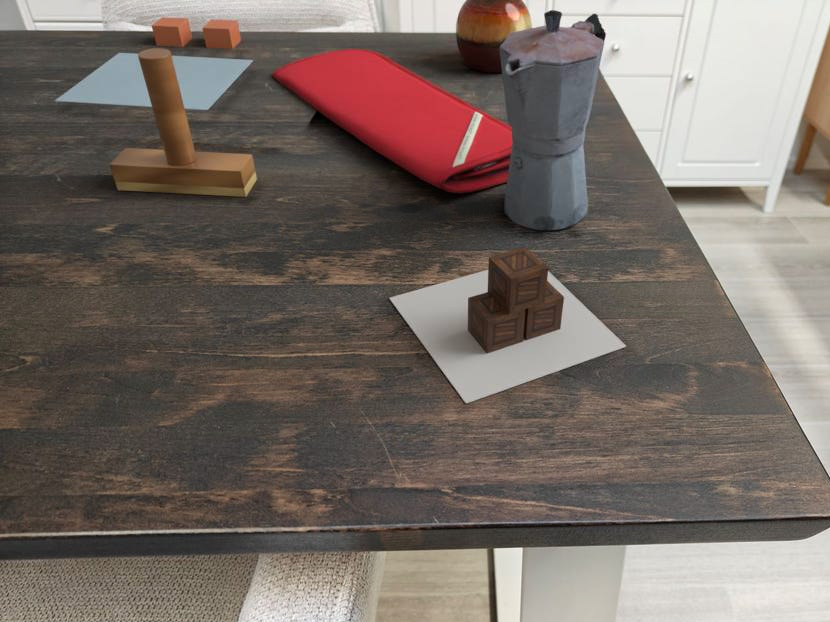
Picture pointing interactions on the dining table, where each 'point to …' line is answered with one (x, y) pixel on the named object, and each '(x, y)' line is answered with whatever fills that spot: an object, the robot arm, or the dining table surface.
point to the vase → (488, 30)
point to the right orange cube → (221, 34)
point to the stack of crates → (504, 325)
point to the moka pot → (549, 119)
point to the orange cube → (172, 32)
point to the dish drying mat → (404, 118)
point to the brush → (177, 146)
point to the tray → (127, 84)
